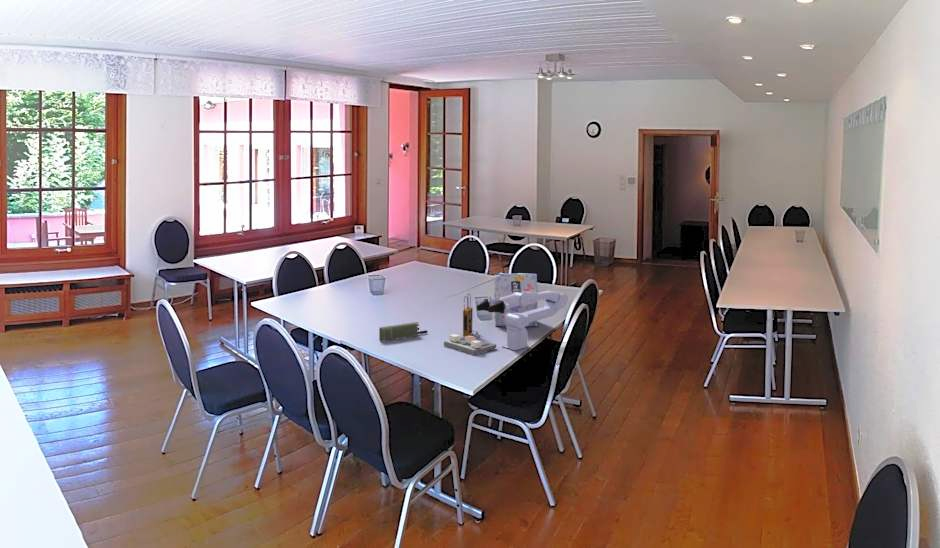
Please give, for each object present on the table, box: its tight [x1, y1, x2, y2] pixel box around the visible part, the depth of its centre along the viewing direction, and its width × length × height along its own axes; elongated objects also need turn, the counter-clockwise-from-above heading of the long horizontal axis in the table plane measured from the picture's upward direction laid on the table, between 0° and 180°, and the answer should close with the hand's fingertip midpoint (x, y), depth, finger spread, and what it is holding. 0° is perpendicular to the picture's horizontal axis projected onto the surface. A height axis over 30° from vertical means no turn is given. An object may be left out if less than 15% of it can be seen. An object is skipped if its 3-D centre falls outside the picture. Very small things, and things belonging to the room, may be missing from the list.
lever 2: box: [471, 340, 481, 348], centre depth 338 cm, size 3×4×2 cm
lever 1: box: [449, 333, 461, 342], centre depth 348 cm, size 3×4×2 cm
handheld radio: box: [378, 321, 428, 342], centre depth 362 cm, size 7×3×25 cm
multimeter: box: [462, 293, 484, 339], centre depth 364 cm, size 15×10×20 cm
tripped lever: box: [465, 334, 476, 344], centre depth 345 cm, size 3×4×3 cm
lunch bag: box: [493, 272, 539, 327], centre depth 385 cm, size 22×17×26 cm
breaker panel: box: [443, 336, 497, 355], centre depth 346 cm, size 14×20×2 cm
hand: (483, 309), depth 329 cm, fingers open, 7 cm apart
